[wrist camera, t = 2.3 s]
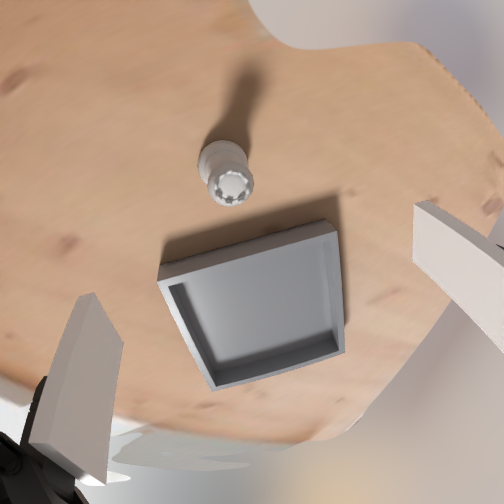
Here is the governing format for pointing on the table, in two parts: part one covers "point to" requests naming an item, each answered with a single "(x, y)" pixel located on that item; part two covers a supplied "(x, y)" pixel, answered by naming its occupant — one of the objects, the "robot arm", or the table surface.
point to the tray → (259, 304)
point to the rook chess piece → (226, 172)
